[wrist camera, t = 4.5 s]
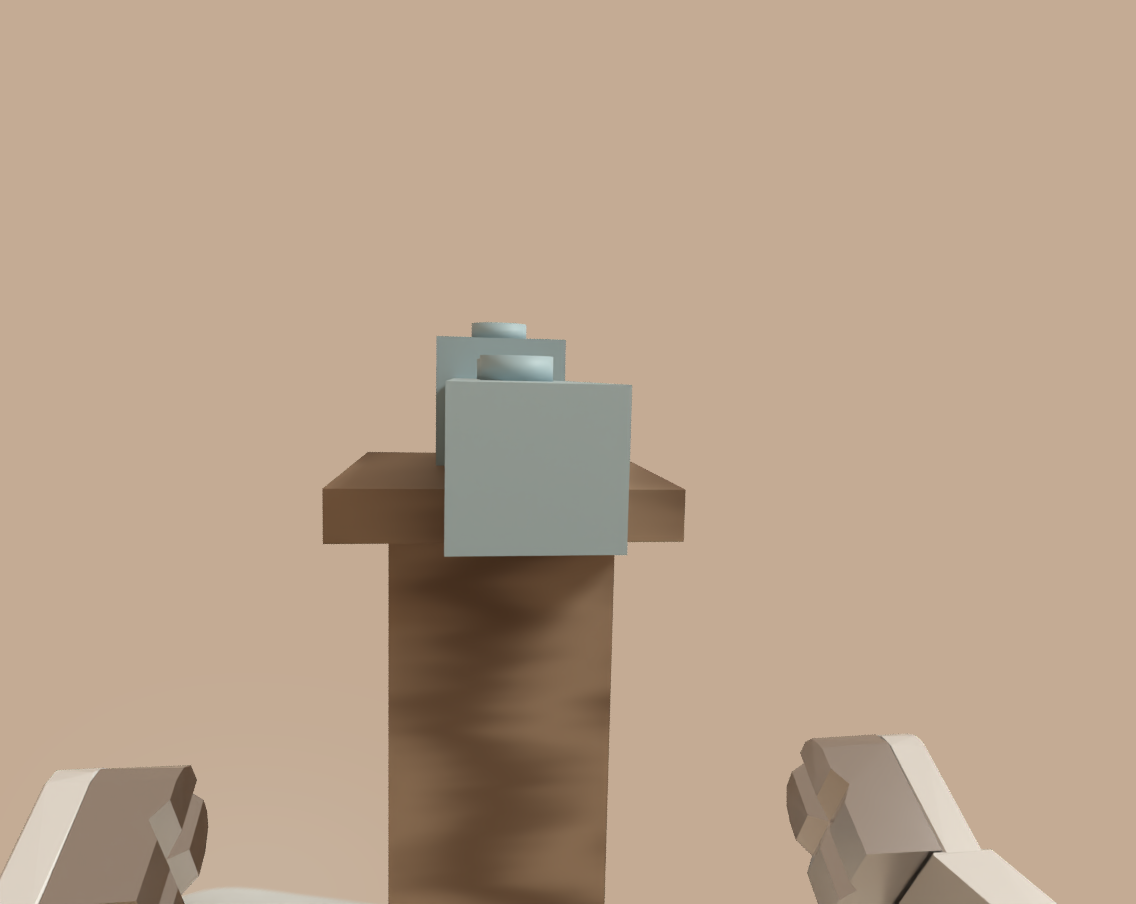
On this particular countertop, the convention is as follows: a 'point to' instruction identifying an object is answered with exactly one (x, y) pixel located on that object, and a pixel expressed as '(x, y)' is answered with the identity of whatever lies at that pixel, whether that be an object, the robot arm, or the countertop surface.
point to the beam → (528, 449)
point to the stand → (492, 692)
